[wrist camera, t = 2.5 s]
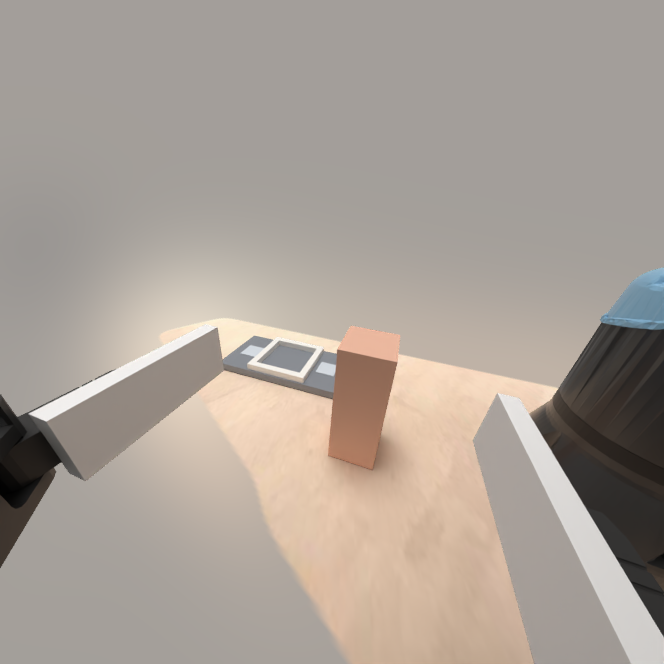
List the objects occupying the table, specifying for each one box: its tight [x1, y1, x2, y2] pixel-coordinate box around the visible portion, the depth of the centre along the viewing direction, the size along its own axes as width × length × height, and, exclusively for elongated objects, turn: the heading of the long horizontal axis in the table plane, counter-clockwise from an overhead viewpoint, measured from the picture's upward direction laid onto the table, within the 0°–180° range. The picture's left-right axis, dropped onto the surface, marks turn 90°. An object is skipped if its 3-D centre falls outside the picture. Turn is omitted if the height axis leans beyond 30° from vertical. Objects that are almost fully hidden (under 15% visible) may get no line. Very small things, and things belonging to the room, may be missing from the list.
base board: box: [223, 336, 337, 399], centre depth 40 cm, size 20×10×2 cm, turn 73°
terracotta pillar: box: [328, 326, 400, 470], centre depth 25 cm, size 5×5×14 cm
